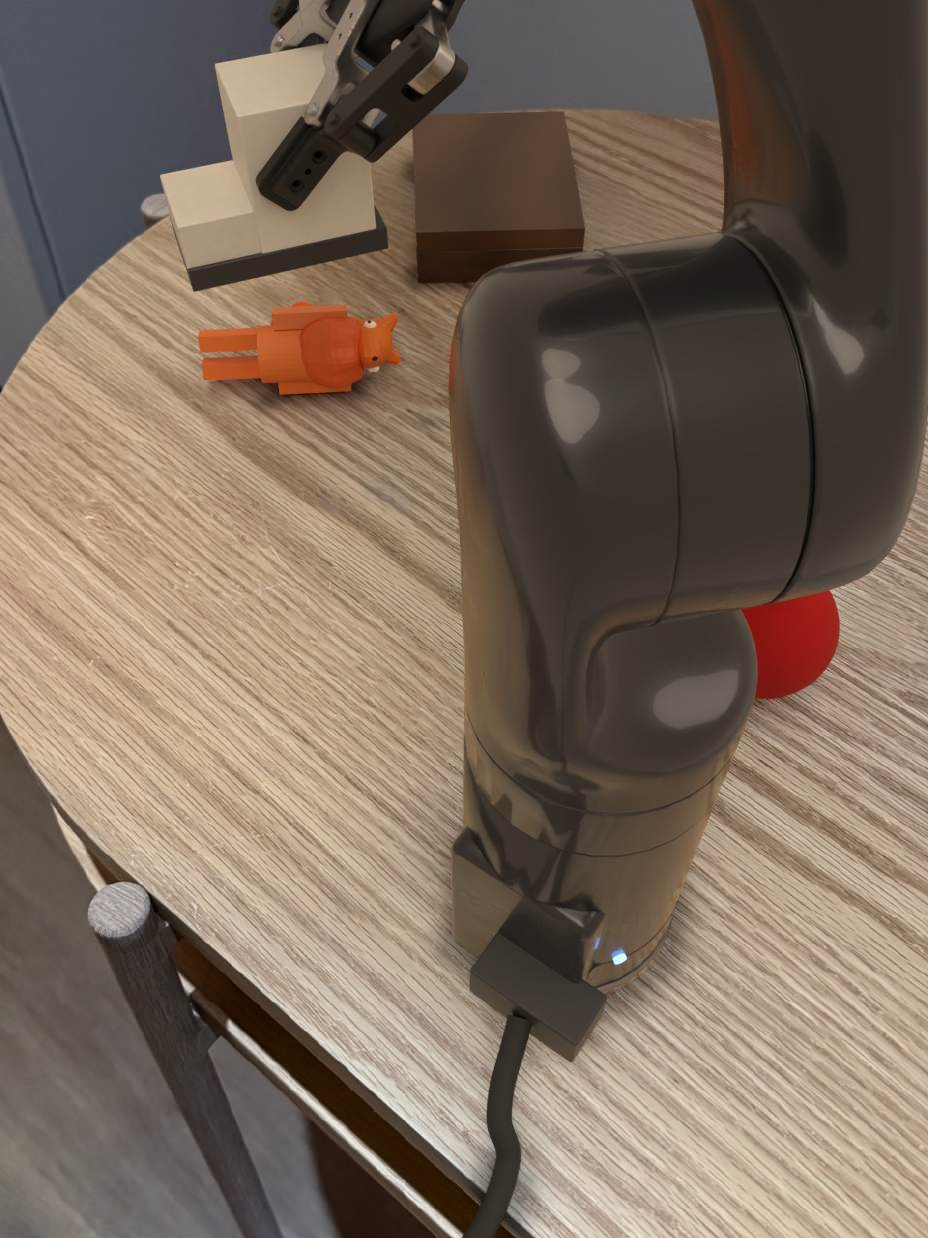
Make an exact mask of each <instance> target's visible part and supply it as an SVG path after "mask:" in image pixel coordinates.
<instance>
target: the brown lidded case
mask: <svg viewBox="0 0 928 1238" xmlns="http://www.w3.org/2000/svg"><path fill="white" fill-rule="evenodd" d="M566 119H567V118H566V114H565V111H563V110H562V111H560V110H559V111H558V110H557V111H556V110H555V111H518V112H515V111H514V112H475V113H474V112H471V113H433V114H432V113H429V114H428V115H427V116H426V117H425V118H424V119H423V120H421V121H420V122H419V123H418V124H417V125H416V126H415V127H414V128H413V129H412V130H411V131H412V133H411V135H412V159H413V163H412V164H413V191H414V219H415V245H416V272H417V274H416V275H417V276H416V277H417V283H418V284H432V283H433V284H435V283H436V284H438V283H439V284H440V283H473V282H474V283H475V282H476V281H477V280H478V279H480V278H481V277H482V276H483V275H484V274H485V273H487V272H488V271H490V270H492V269H494V268H495V267H499V266H502V265H505V264H509V263H512V262H518V261H524V260H529V259H535V258H541V257H548V256H554V255H561V254H568V253H574V252H583V251H584V245H585V235H586V225H585V219H584V215H583V209H582V203H581V199H580V191H579V185H578V180H577V176H576V170H575V164H574V158H573V152H572V146H571V143H570V142H571V141H570V136H569V131H568V125H567V120H566Z"/></svg>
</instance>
